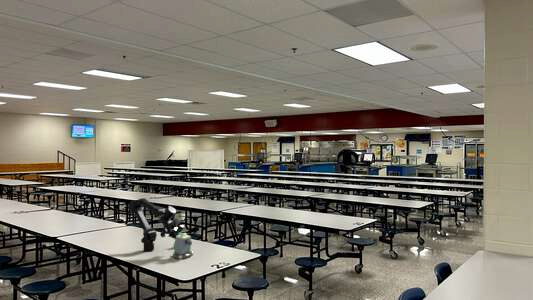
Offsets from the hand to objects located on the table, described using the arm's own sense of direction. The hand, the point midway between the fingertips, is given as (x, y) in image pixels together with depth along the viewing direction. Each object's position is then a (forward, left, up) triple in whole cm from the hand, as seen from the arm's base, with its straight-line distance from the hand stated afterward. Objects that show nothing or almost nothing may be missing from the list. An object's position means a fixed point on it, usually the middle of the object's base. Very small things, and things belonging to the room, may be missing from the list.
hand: (179, 240), depth 247 cm
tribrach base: (+2, -1, -11) cm, 11 cm away
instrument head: (+3, -2, -8) cm, 9 cm away
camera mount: (-1, +24, -11) cm, 26 cm away
